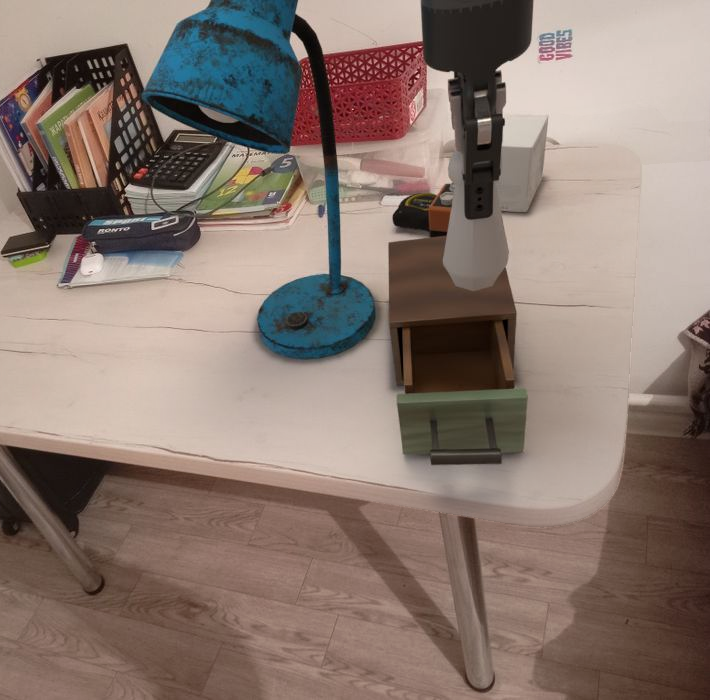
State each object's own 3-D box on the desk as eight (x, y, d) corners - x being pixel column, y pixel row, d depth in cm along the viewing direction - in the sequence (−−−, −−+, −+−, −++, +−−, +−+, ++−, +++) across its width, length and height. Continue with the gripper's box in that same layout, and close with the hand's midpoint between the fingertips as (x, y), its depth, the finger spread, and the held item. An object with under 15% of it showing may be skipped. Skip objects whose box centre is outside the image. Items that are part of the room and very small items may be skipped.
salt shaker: (515, 264, 59) (522, 135, 51) (498, 300, 56) (502, 169, 48) (454, 257, 62) (451, 134, 54) (434, 291, 59) (428, 166, 51)
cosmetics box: (528, 213, 91) (533, 146, 84) (483, 210, 94) (484, 145, 87) (544, 178, 97) (550, 112, 90) (501, 176, 100) (503, 113, 93)
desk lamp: (210, 354, 84) (73, -9, 56) (315, 268, 93) (243, -82, 65) (295, 401, 74) (181, -17, 45) (404, 300, 83) (366, -102, 54)
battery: (430, 264, 87) (426, 201, 81) (446, 238, 91) (444, 176, 85) (461, 268, 85) (460, 204, 79) (476, 241, 89) (476, 177, 82)
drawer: (532, 494, 57) (537, 440, 52) (404, 494, 60) (397, 443, 55) (503, 351, 71) (505, 297, 66) (400, 357, 74) (395, 307, 69)
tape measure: (391, 232, 96) (389, 211, 93) (412, 209, 99) (410, 188, 97) (432, 239, 92) (431, 217, 89) (453, 215, 95) (452, 193, 93)
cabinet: (513, 379, 68) (516, 312, 62) (396, 385, 72) (388, 322, 66) (495, 293, 80) (496, 229, 73) (394, 302, 83) (388, 242, 77)
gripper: (553, 1, 37) (535, 242, 48) (519, -50, 47) (510, 158, 58) (423, 27, 39) (434, 252, 50) (417, -27, 49) (427, 170, 60)
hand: (475, 201), depth 54 cm, fingers closed on salt shaker, 4 cm apart
